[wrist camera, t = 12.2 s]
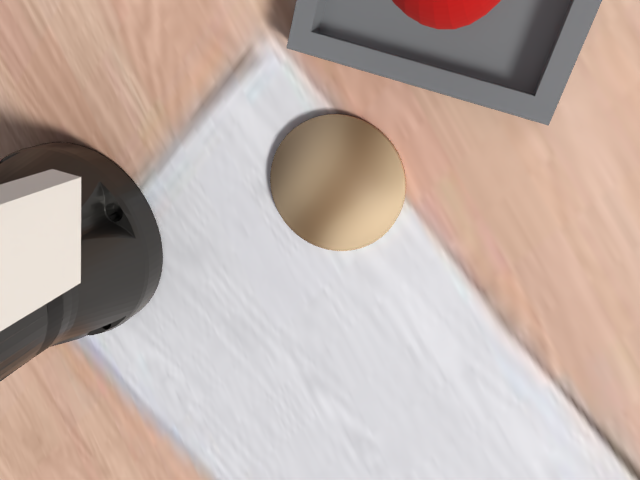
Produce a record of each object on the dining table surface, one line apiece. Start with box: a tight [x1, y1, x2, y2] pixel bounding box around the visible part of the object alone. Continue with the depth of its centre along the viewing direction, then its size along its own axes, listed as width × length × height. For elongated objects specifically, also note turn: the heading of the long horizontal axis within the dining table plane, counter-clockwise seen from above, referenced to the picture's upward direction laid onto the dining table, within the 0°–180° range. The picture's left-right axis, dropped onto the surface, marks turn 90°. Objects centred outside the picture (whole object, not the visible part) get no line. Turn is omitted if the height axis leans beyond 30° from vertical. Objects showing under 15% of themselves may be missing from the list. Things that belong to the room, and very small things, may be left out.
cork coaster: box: [270, 114, 406, 251], centre depth 35 cm, size 9×9×1 cm
